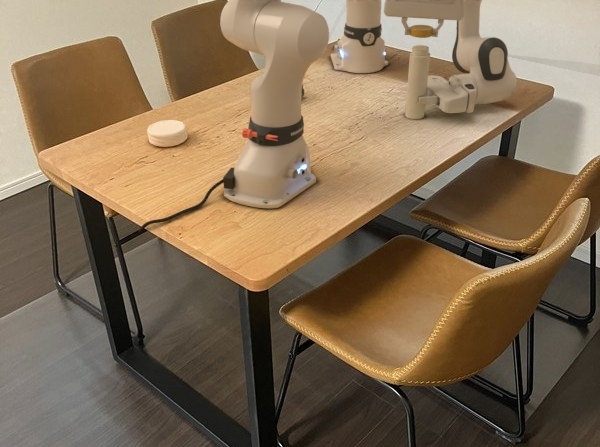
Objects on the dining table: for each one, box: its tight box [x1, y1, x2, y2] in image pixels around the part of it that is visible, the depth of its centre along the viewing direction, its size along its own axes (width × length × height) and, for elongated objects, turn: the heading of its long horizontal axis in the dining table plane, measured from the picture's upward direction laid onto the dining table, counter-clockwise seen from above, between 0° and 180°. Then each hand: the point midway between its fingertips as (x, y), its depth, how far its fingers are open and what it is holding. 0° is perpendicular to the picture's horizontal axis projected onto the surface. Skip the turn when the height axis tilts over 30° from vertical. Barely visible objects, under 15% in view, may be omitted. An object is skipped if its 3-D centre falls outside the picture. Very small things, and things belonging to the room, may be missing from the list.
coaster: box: [146, 119, 188, 148], centre depth 160 cm, size 10×10×4 cm
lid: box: [409, 24, 434, 39], centre depth 160 cm, size 6×6×2 cm
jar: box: [404, 44, 431, 120], centre depth 168 cm, size 5×5×19 cm
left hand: (421, 35), depth 161 cm, fingers closed on lid, 5 cm apart
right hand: (413, 96), depth 169 cm, fingers closed on jar, 5 cm apart
